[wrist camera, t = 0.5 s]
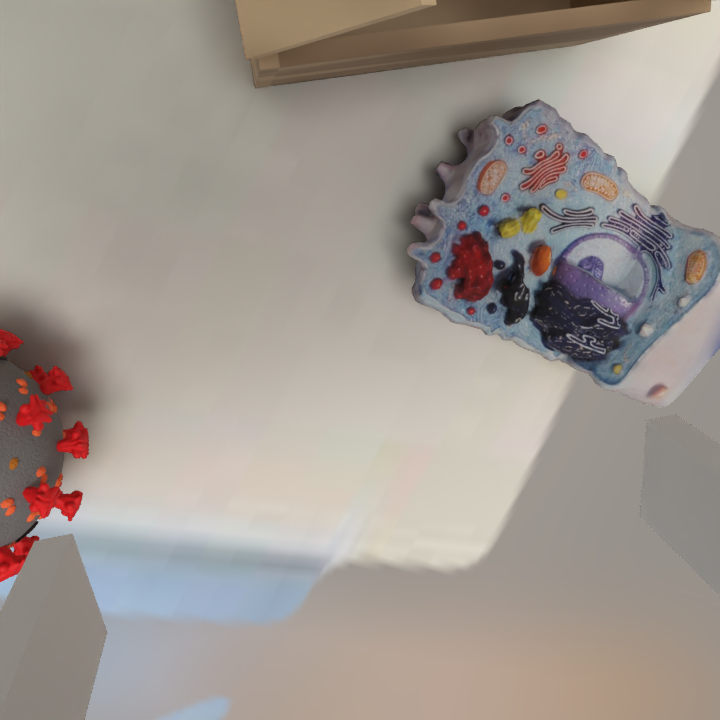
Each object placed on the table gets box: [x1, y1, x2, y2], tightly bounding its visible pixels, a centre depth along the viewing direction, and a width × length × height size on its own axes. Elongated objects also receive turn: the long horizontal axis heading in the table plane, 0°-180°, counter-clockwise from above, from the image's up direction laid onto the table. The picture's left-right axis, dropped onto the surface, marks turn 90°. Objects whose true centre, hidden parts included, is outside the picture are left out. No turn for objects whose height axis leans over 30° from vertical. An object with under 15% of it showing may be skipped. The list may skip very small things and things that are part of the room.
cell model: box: [407, 99, 720, 407], centre depth 38 cm, size 13×11×20 cm
